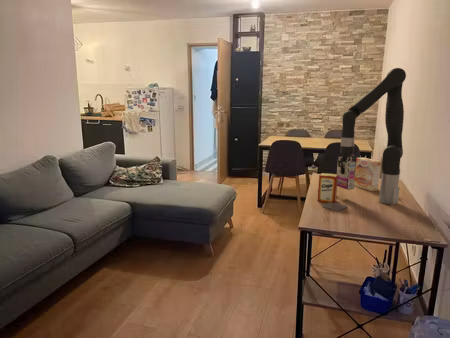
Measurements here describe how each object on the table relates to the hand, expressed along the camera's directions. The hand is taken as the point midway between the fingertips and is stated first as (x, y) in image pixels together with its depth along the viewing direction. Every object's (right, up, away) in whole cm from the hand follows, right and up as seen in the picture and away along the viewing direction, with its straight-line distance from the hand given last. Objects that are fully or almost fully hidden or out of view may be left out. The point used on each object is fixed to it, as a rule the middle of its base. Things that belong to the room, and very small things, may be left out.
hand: (345, 173), depth 208 cm
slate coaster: (-11, -19, -14) cm, 26 cm away
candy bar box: (0, -9, +2) cm, 9 cm away
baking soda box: (-12, -16, -2) cm, 20 cm away
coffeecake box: (+23, -10, +27) cm, 37 cm away
